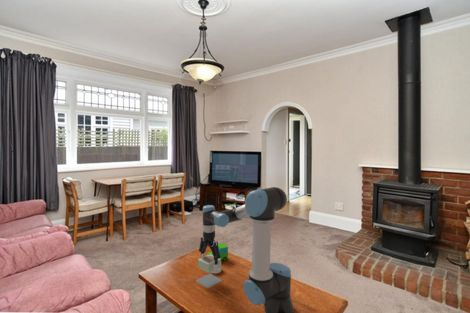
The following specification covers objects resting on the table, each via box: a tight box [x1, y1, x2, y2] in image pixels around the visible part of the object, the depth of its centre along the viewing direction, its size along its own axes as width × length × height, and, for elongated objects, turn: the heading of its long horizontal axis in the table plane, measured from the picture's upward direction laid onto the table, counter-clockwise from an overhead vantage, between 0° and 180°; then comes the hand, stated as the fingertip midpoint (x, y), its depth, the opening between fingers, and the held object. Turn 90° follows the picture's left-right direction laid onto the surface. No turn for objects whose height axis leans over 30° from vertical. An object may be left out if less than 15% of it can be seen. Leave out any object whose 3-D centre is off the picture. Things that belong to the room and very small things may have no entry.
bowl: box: [210, 266, 222, 275], centre depth 168 cm, size 8×8×4 cm
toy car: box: [206, 242, 229, 262], centre depth 184 cm, size 10×13×10 cm
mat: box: [194, 272, 223, 289], centre depth 156 cm, size 12×12×1 cm
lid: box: [197, 254, 222, 274], centre depth 155 cm, size 10×10×5 cm
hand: (209, 266), depth 155 cm, fingers closed on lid, 10 cm apart
